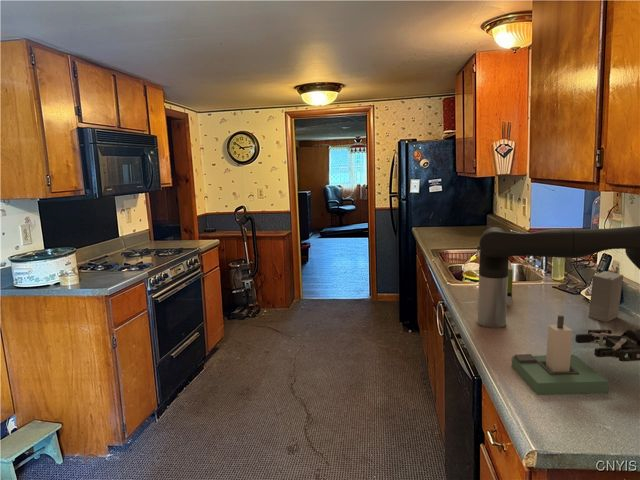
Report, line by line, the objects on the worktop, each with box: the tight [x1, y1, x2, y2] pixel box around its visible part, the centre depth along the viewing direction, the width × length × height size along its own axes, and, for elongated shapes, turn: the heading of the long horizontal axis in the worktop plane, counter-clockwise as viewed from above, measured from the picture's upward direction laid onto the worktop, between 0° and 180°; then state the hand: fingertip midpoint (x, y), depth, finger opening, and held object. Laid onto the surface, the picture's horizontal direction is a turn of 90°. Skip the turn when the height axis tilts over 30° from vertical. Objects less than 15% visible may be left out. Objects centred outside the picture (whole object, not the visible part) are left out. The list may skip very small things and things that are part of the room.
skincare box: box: [588, 270, 624, 323], centre depth 155 cm, size 8×7×16 cm
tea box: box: [507, 260, 514, 306], centre depth 180 cm, size 15×10×15 cm
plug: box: [546, 314, 573, 372], centre depth 114 cm, size 4×4×17 cm
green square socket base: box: [511, 353, 610, 396], centre depth 116 cm, size 15×17×4 cm
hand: (585, 345), depth 114 cm, fingers open, 8 cm apart
